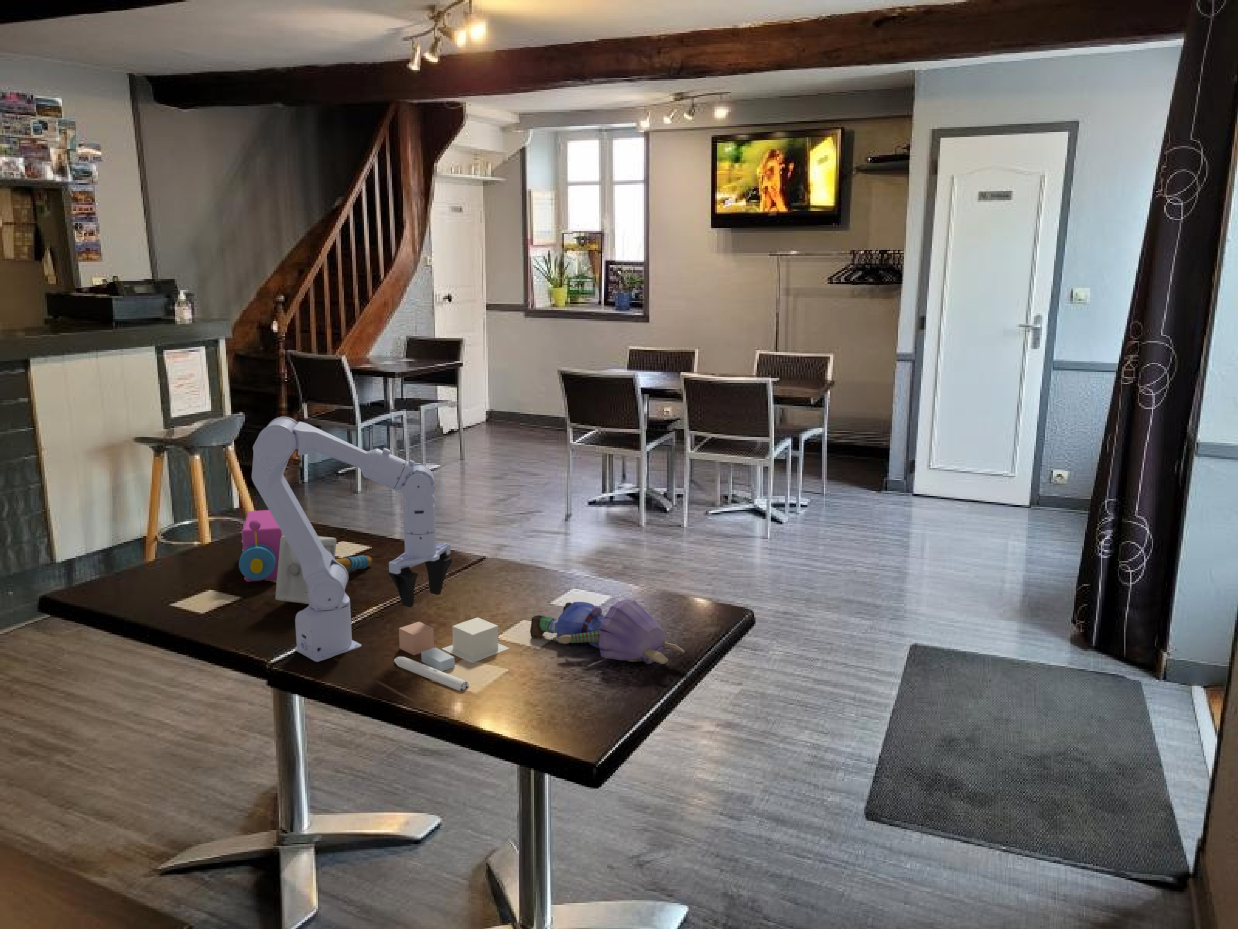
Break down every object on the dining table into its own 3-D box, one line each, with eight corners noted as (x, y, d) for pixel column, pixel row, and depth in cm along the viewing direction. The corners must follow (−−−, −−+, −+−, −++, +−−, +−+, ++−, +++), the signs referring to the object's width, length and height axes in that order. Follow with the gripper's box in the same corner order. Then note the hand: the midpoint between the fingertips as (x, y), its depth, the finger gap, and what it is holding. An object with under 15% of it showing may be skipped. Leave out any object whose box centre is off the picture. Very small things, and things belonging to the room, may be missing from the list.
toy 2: (521, 652, 174) (646, 688, 156) (517, 598, 173) (644, 628, 154) (581, 625, 188) (704, 655, 169) (579, 575, 186) (702, 599, 168)
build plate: (471, 665, 165) (471, 662, 165) (441, 650, 171) (441, 648, 171) (509, 650, 171) (509, 648, 171) (479, 637, 177) (479, 635, 177)
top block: (414, 657, 168) (413, 634, 167) (399, 650, 171) (398, 628, 170) (434, 650, 171) (433, 628, 170) (419, 643, 174) (419, 621, 173)
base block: (473, 658, 167) (472, 634, 166) (452, 648, 171) (452, 626, 170) (498, 648, 171) (498, 625, 170) (477, 639, 175) (477, 617, 174)
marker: (390, 666, 164) (389, 654, 164) (399, 662, 166) (398, 650, 165) (460, 695, 154) (459, 682, 153) (469, 690, 156) (468, 678, 155)
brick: (454, 670, 163) (454, 657, 163) (440, 675, 161) (440, 662, 161) (435, 660, 167) (435, 647, 167) (421, 664, 165) (421, 651, 165)
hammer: (349, 587, 218) (272, 600, 189) (354, 531, 219) (277, 535, 190) (380, 591, 216) (307, 604, 187) (385, 534, 217) (313, 539, 188)
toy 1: (250, 553, 226) (245, 494, 223) (288, 550, 229) (284, 492, 226) (239, 590, 200) (234, 525, 197) (283, 587, 203) (279, 522, 200)
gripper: (408, 543, 162) (410, 615, 164) (462, 524, 174) (463, 592, 177) (379, 537, 165) (382, 608, 168) (433, 519, 177) (435, 585, 180)
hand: (421, 599), depth 173 cm, fingers open, 7 cm apart
